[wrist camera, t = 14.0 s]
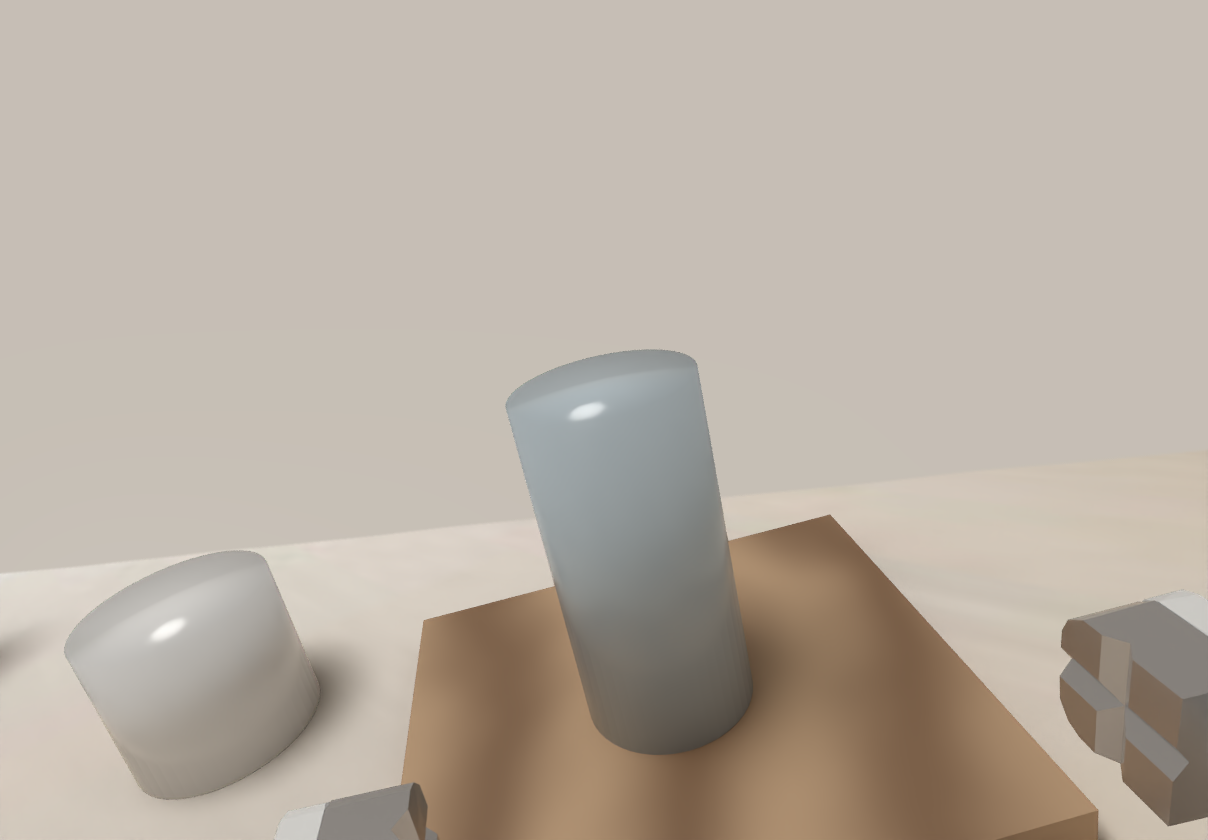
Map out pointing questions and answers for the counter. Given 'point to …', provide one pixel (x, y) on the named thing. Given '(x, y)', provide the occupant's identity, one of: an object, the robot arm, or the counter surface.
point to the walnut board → (737, 725)
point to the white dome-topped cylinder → (196, 673)
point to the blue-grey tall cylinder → (637, 545)
